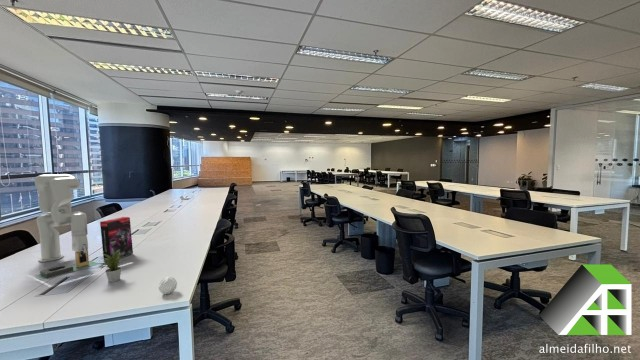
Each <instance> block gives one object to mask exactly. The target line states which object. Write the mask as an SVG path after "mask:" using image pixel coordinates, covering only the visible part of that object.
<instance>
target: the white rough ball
mask: <svg viewBox="0 0 640 360" xmlns="http://www.w3.org/2000/svg"><path fill="white" fill-rule="evenodd" d="M177 286H178V281H177V280H176V278H174V277H173V276H166V277H163V278H162V279H161V280H160V281H159V283H158V290H159V292H160V293H161V294H163V295H168V294H172V293H173V292H174V291H175V290H176V288H178V287H177Z"/></svg>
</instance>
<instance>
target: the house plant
mask: <svg viewBox="0 0 640 360" xmlns="http://www.w3.org/2000/svg"><path fill="white" fill-rule="evenodd" d="M118 251H119V250H118ZM118 251H117V252H116V253H115V252H114V253H113V257H112V258H111V257H110V256H109V255H107V254H104V255H105V256H106V257H107V259H105V260H104V258H103V257H102V260H103V262H101V263H99V264H97V265H98V266H100V265H101V266H100V267H99V269H100V270H102V269H103V268H105V267H106V268H107V267H108V268H107V269H105V274H106V277H107V281H108V283H114V282H115V283H116V282H118V281H121V280H120V279H121V274H122V267H121V266H120V264H121V263H122V261H121V262H120V260H121V259H122V258H123V257H119V255H120V253H119V254H118ZM117 254H118V257H117ZM121 254H122V253H121ZM120 256H121V255H120ZM116 257H117V258H116ZM124 261H126V259H125V260H123V262H124ZM119 262H120V263H119Z"/></svg>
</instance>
